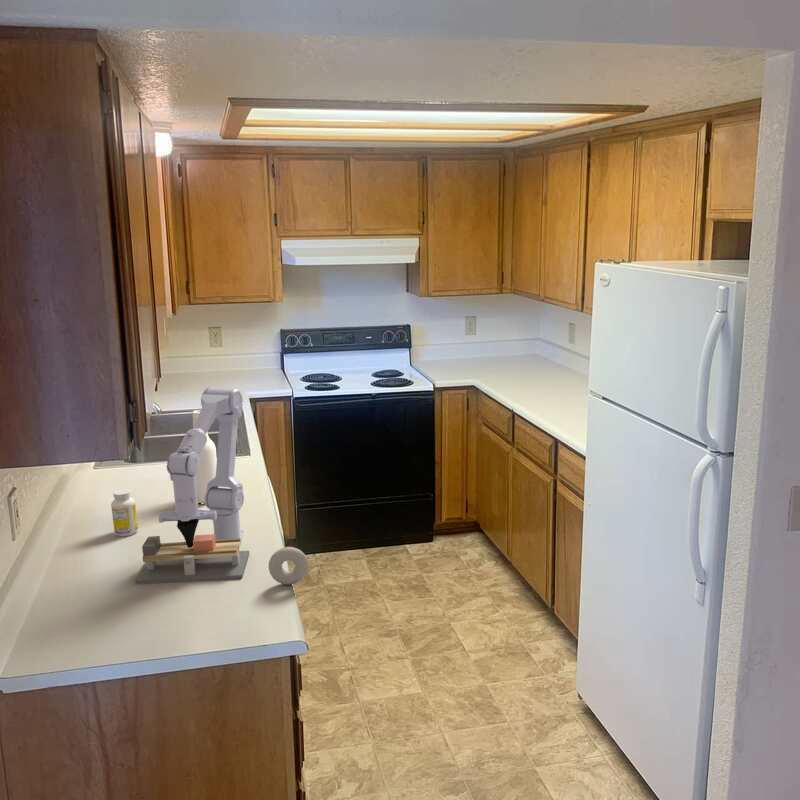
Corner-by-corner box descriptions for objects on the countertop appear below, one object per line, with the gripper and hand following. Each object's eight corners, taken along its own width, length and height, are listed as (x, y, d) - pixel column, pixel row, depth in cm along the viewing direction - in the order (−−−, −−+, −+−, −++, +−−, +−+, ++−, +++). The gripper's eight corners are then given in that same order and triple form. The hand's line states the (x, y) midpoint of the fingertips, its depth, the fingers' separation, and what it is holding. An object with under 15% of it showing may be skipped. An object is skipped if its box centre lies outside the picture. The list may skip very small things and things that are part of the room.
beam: (150, 549, 214) (148, 535, 213) (240, 543, 215) (239, 529, 214) (143, 562, 206) (141, 547, 205) (236, 556, 207) (235, 541, 206)
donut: (269, 588, 199) (266, 551, 196) (270, 582, 202) (267, 545, 200) (309, 585, 200) (307, 548, 198) (309, 579, 203) (307, 543, 201)
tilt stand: (149, 558, 218) (147, 539, 217) (249, 553, 219) (247, 534, 218) (135, 583, 203) (132, 562, 202) (242, 578, 205) (240, 557, 203)
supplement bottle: (130, 526, 241) (125, 486, 238) (142, 531, 237) (138, 490, 234) (110, 533, 236) (105, 492, 233) (122, 539, 232) (117, 497, 229)
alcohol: (225, 497, 263) (218, 409, 256) (208, 506, 256) (200, 415, 249) (204, 493, 267) (196, 406, 260) (186, 502, 260) (178, 413, 253)
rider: (196, 545, 212) (195, 535, 211) (215, 544, 212) (214, 534, 212) (193, 552, 208) (192, 541, 207) (213, 550, 208) (212, 540, 208)
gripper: (153, 504, 202) (159, 553, 206) (211, 501, 203) (215, 551, 206) (160, 494, 209) (165, 542, 212) (216, 491, 210) (220, 540, 213)
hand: (190, 546), depth 210 cm, fingers closed
